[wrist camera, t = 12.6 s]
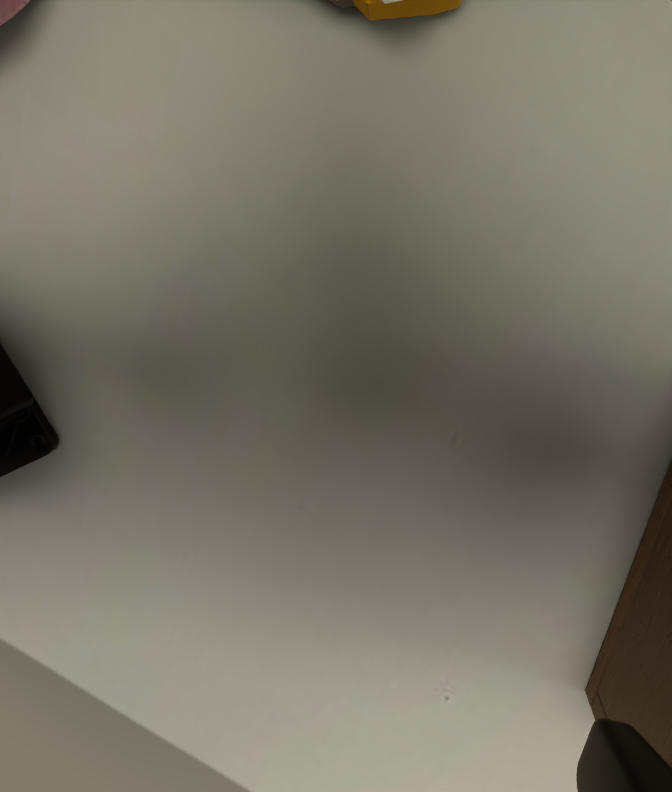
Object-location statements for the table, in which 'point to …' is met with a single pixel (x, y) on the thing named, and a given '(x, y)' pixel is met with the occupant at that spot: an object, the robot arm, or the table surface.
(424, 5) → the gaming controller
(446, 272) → the table surface
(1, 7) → the flower
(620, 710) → the wooden box
